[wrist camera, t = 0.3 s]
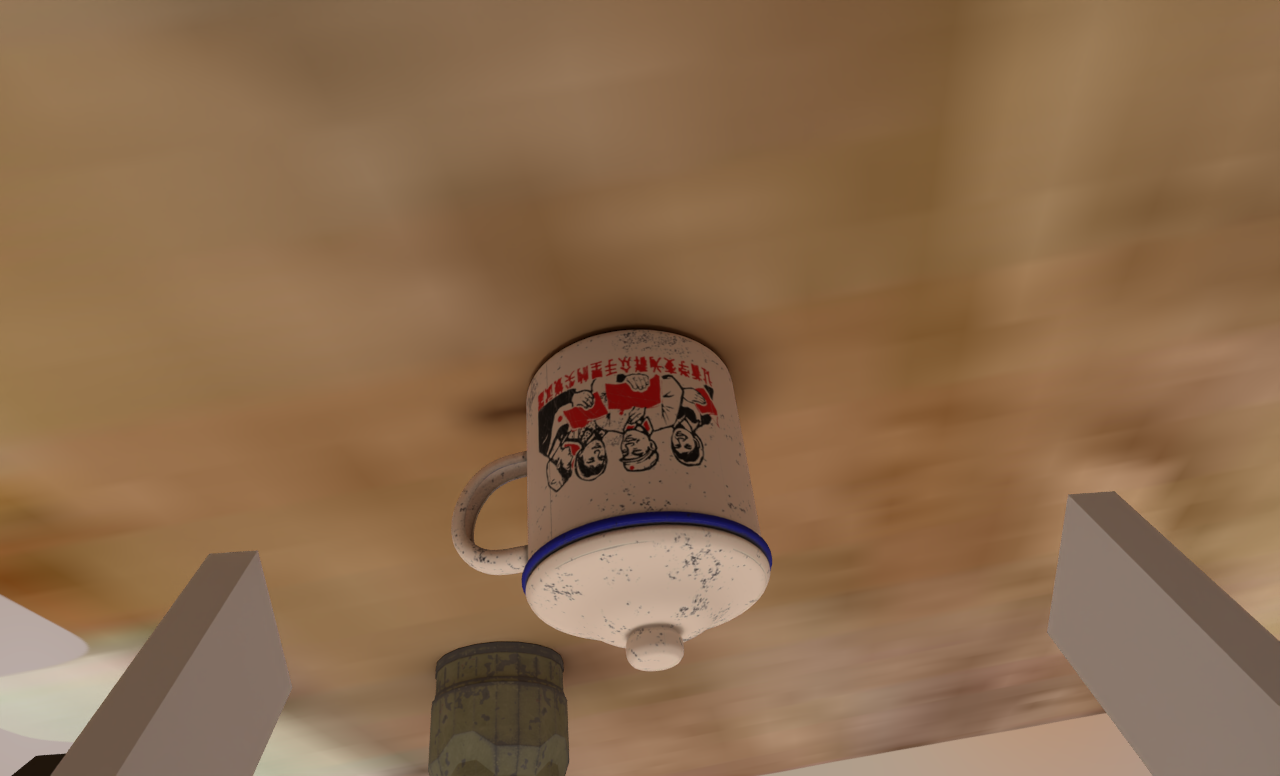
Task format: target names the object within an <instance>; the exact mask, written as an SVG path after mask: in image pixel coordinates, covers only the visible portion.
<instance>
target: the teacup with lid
mask: <svg viewBox="0 0 1280 776" xmlns="http://www.w3.org/2000/svg"><path fill="white" fill-rule="evenodd" d="M526 411H527V451H524V452H519V453H515V454H511V455H508V456H505V457H502V458H499V459H497V460H495V461H493V462H491V463H489V464H488V465H486V466H485V467H483V468H482V469H481V470H480V471H478V472H477V473H476V474H475V475H474V476H473V477H472V479H471V480H470V481H469V482H468V484H467V485H466V487H465V488H464V490H463V491H462V493H461V495H460V497H459V499H458V501H457V504H456V506H455V510H454V513H453V518H452V527H451V529H452V539H453V543H454V546H455V548H456V550H457V552H458V553H459V555H460V556H461V557H462V559H463V560H464V561H465V562H466V563H467V564H469V565H470V566H471V567H473V568H474V569H476V570H478V571H480V572H483V573H487V574H492V575H508V574H515V573H521V572H523V574H522V587H523V591H524V593H525V595H526V598H527V601H528V603H529V605H530V607H531V608H532V610H533V611H534V612H535V614H536V615H537V616H538V617H539V618H540V619H541V620H543V621H544V622H545V623H547V624H548V625H550V626H552V627H553V628H555V629H557V630H560V631H562V632H565V633H567V634H570V635H574V636H578V637H582V638H587V639H593V640H601V641H603V642H605V643H608V644H611V645H614V646H617V647H622V648H626V656H627V660H628V661H629V663H630V664H631V665H632V666H633V667H634V668H636V669H639V670H643V671H659V670H665V669H668V668H671V667H673V666H675V665H677V664H678V663H679V662H680V661H681V659H682V657H683V655H684V646H683V642H685V641H688V640H690V639H692V638H694V637H696V636H697V635H699V634H701V633H702V632H704V631H705V630H707V629H710V628H713V627H715V626H718V625H720V624H723V623H725V622H727V621H729V620H731V619H733V618H735V617H737V616H738V615H740V614H742V613H743V612H745V611H746V610H747V609H749V608H750V607H751V606H752V605H753V604H754V603H755V602H756V601H757V600H758V599H759V598H760V597H761V595H762V594H763V592H764V591H765V588H766V586H767V584H768V581H769V578H770V571H771V566H772V556H771V551H770V549H769V547H768V545H767V543H766V542H765V541H764V539H763V538H762V537H761V533H760V528H759V523H758V517H757V512H756V507H755V501H754V496H753V491H752V485H751V480H750V474H749V469H748V464H747V458H746V453H745V448H744V442H743V437H742V432H741V426H740V421H739V416H738V410H737V405H736V399H735V394H734V389H733V384H732V379H731V376H730V374H729V371H728V369H727V367H726V366H725V364H724V363H723V362H722V361H721V359H720V358H719V357H718V356H717V355H716V354H715V353H714V352H713V351H711V350H710V349H708V348H707V347H705V346H704V345H702V344H700V343H698V342H696V341H694V340H692V339H690V338H687V337H684V336H681V335H678V334H674V333H669V332H664V331H656V330H622V331H615V332H609V333H604V334H599V335H596V336H592V337H589V338H586V339H583V340H581V341H578V342H576V343H574V344H572V345H570V346H568V347H566V348H564V349H563V350H561V351H559V352H558V353H556V354H555V355H554V356H553V357H551V358H550V359H549V360H548V361H547V362H546V363H545V364H543V365H542V367H541V368H540V369H539V370H538V371H537V373H536V374H535V376H534V378H533V379H532V381H531V384H530V386H529V389H528V393H527V400H526ZM526 476H527V492H528V545H525V546H520V547H515V548H509V549H503V550H487V549H483V548H481V547H478V546H477V545H475V543H474V528H475V523H476V519H477V517H478V514H479V512H480V510H481V508H482V506H483V504H484V503H485V501H486V500H487V499H488V497H489V496H490V495H491V494H492V493H493V492H494V491H495V490H496V489H498V488H499V487H500V486H502V485H504V484H505V483H508V482H510V481H512V480H515V479H519V478H522V477H526Z"/></svg>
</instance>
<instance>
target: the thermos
mask: <svg viewBox="0 0 1280 776" xmlns="http://www.w3.org/2000/svg"><path fill="white" fill-rule="evenodd" d="M563 672H564V667H563V660H562V658H561V656H560V655H559V654H557V653H556V652H555V651H553V650H552V649H549V648H546V647H542V646H539V645H535V644H528V643H521V642H493V643H484V644H476V645H472V646H468V647H464V648H460V649H457V650H455V651H453V652H450V653H448V654H446V655H444V656H443V657H442V658H441V659H440V660H439V661H438V662H437V666H436V678H435V679H436V680H437V681H436V696H435V700H434V701H433V702H432V708H431V727H430V746H429V764H428V772H429V775H430V776H565V774H566V771H567V767H568V764H569V740H568V713H567V699H566V697H565V695H564V692H563Z"/></svg>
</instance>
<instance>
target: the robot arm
mask: <svg viewBox="0 0 1280 776" xmlns="http://www.w3.org/2000/svg"><path fill="white" fill-rule="evenodd" d="M1047 633H1048V634H1049V636H1050V637H1051V638H1052V640H1053V641H1054V642H1055V644H1056V645H1057V646H1058V648H1059V649H1060V651H1061V652H1062V653H1063V655H1064V656H1065V657H1066V659H1067V660H1068V661H1069V663H1070V664H1071V665H1072V667H1073V668H1074V669H1075V671H1076V672H1077V674H1078V675H1079V676H1080V678H1081V679H1082V680H1083V682H1084V683H1085V684H1086V686H1087V687H1088V688H1089V690H1090V691H1091V692H1092V694H1093V695H1094V697H1095V698H1096V699H1097V701H1098V702H1099V703H1100V705H1101V706H1102V707H1103V709H1104V710H1105V711H1106V713H1107V714H1108V715H1109V717H1110V718H1111V720H1112V721H1113V722H1114V724H1115V725H1116V726H1117V728H1118V729H1119V730H1120V732H1121V733H1122V734H1123V736H1124V737H1125V739H1126V740H1127V741H1128V743H1129V744H1130V745H1131V747H1132V748H1133V749H1134V751H1135V752H1136V753H1137V755H1138V756H1139V758H1140V759H1141V760H1142V762H1143V763H1144V764H1145V766H1146V767H1147V768H1148V770H1149V771H1150V772H1151V774H1152V775H1153V776H1280V641H1278V640H1277V639H1276V638H1275V637H1274V636H1273V635H1272V634H1271V633H1270V632H1269V631H1267V630H1266V629H1265V628H1264V627H1263V626H1262V625H1261V624H1260V623H1259V622H1258V621H1256V620H1255V619H1254V618H1253V617H1252V616H1251V615H1250V614H1249V613H1248V612H1247V611H1245V610H1244V609H1243V608H1242V607H1241V606H1240V605H1239V604H1238V603H1237V602H1236V601H1234V600H1233V599H1232V598H1231V597H1230V596H1229V595H1228V594H1227V593H1226V592H1225V591H1223V590H1222V589H1221V588H1220V587H1219V586H1218V585H1217V584H1216V583H1215V582H1214V581H1212V580H1211V579H1210V578H1209V577H1208V576H1207V575H1206V574H1205V573H1204V572H1203V571H1201V570H1200V569H1199V568H1198V567H1197V566H1196V565H1195V564H1194V563H1193V562H1192V561H1190V560H1189V559H1188V558H1187V557H1186V556H1185V555H1184V554H1183V553H1182V552H1181V551H1179V550H1178V549H1177V548H1176V547H1175V546H1174V545H1173V544H1172V543H1171V542H1170V541H1168V540H1167V539H1166V538H1165V537H1164V536H1163V535H1162V534H1161V533H1160V532H1159V531H1157V530H1156V529H1155V528H1154V527H1153V526H1152V525H1151V524H1150V523H1149V522H1148V521H1146V520H1145V519H1144V518H1143V517H1142V516H1141V515H1140V514H1139V513H1138V512H1137V511H1135V510H1134V509H1133V508H1132V507H1131V506H1130V505H1129V504H1128V503H1127V502H1126V501H1124V500H1123V499H1122V498H1121V497H1120V496H1119V495H1118V494H1117V493H1116V492H1115V491H1112V492H1098V493H1083V494H1069V495H1068V499H1067V506H1066V512H1065V519H1064V525H1063V532H1062V538H1061V545H1060V552H1059V558H1058V565H1057V571H1056V578H1055V585H1054V591H1053V598H1052V604H1051V611H1050V617H1049V624H1048V631H1047ZM291 689H292V685H291V681H290V677H289V673H288V669H287V665H286V661H285V657H284V653H283V649H282V645H281V641H280V637H279V633H278V629H277V625H276V621H275V617H274V613H273V609H272V605H271V601H270V597H269V593H268V589H267V585H266V581H265V577H264V573H263V569H262V565H261V561H260V557H259V553H258V551H244V552H229V553H215V554H209V555H208V556H207V558H206V559H205V561H204V562H203V563H202V565H201V566H200V568H199V569H198V570H197V572H196V573H195V575H194V576H193V577H192V579H191V580H190V582H189V583H188V584H187V586H186V587H185V589H184V590H183V591H182V593H181V594H180V595H179V597H178V598H177V600H176V601H175V602H174V604H173V605H172V607H171V608H170V609H169V611H168V612H167V614H166V615H165V616H164V618H163V619H162V621H161V622H160V623H159V625H158V626H157V628H156V629H155V630H154V632H153V633H152V635H151V636H150V637H149V639H148V640H147V642H146V643H145V644H144V646H143V647H142V649H141V650H140V651H139V653H138V654H137V655H136V657H135V658H134V660H133V661H132V662H131V664H130V665H129V667H128V668H127V669H126V671H125V672H124V674H123V675H122V676H121V678H120V679H119V681H118V682H117V683H116V685H115V686H114V688H113V689H112V690H111V692H110V693H109V695H108V696H107V697H106V699H105V700H104V702H103V703H102V704H101V706H100V707H99V709H98V710H97V711H96V713H95V714H94V715H93V717H92V718H91V720H90V721H89V722H88V724H87V725H86V727H85V728H84V729H83V731H82V732H81V734H80V735H79V736H78V738H77V739H76V741H75V742H74V743H73V745H72V746H71V748H70V749H69V750H68V752H67V753H66V754H55V755H41V756H35V757H34V758H33V759H32V760H30V761H29V762H28V763H27V764H25V765H24V766H23V767H22V768H21V769H19V770H18V771H17V772H16V773H14V774H13V775H12V776H253V774H254V772H255V769H256V767H257V765H258V763H259V760H260V758H261V756H262V754H263V752H264V749H265V747H266V745H267V743H268V740H269V738H270V736H271V734H272V732H273V729H274V727H275V725H276V723H277V720H278V718H279V716H280V714H281V712H282V709H283V707H284V705H285V703H286V700H287V698H288V696H289V694H290V692H291Z"/></svg>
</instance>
